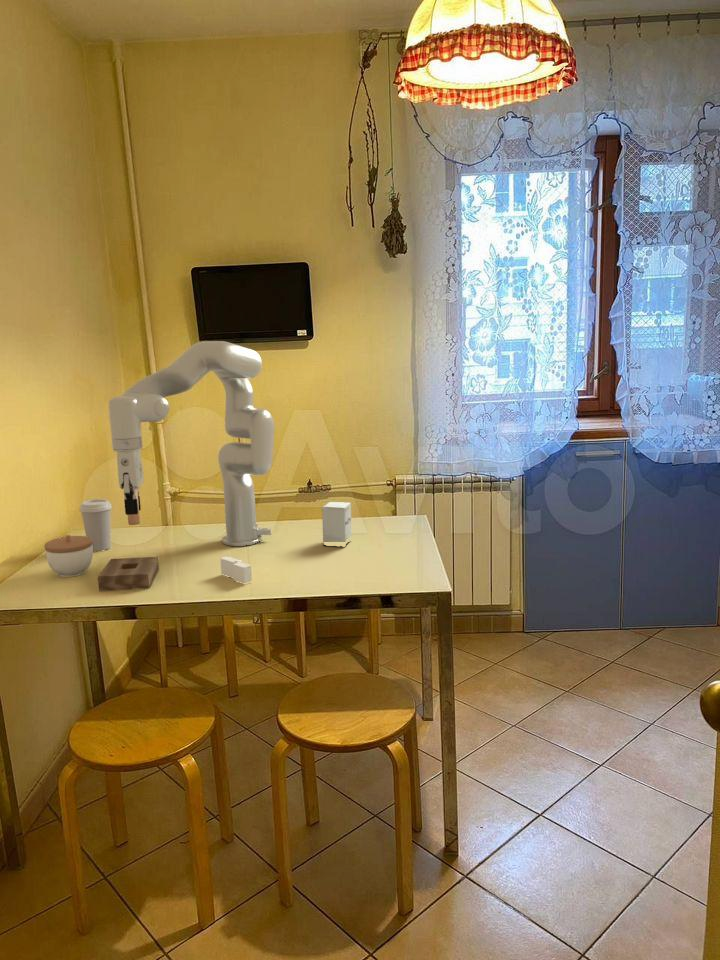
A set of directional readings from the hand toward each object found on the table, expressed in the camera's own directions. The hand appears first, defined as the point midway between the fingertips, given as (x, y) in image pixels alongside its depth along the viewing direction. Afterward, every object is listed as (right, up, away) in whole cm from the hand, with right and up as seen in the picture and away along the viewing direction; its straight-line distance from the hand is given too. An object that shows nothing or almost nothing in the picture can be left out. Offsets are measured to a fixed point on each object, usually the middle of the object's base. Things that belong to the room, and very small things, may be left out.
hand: (133, 511), depth 200 cm
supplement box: (+53, -12, +34) cm, 64 cm away
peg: (0, -3, +1) cm, 3 cm away
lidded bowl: (-21, -18, +12) cm, 30 cm away
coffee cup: (-21, -13, +35) cm, 43 cm away
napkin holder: (+27, -19, +3) cm, 33 cm away
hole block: (-2, -19, +5) cm, 20 cm away
